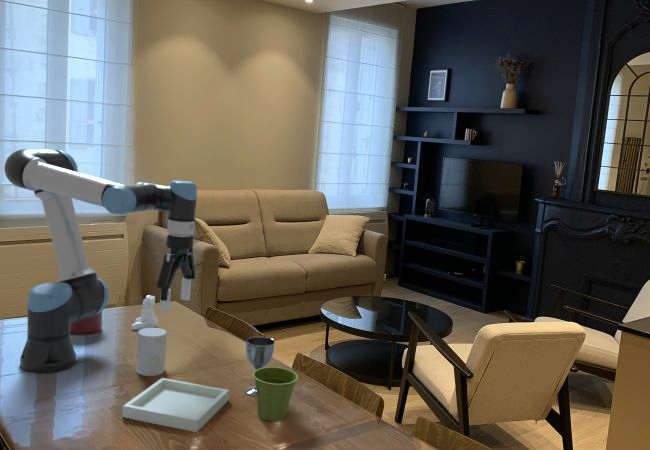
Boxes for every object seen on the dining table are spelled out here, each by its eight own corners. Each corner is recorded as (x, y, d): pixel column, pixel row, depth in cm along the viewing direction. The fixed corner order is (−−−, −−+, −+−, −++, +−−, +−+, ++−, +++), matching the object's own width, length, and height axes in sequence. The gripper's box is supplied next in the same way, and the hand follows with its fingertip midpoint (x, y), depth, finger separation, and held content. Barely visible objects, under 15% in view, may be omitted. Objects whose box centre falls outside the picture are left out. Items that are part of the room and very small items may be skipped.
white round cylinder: (156, 377, 182) (158, 337, 180) (131, 373, 184) (133, 333, 182) (169, 368, 190) (171, 329, 188) (144, 364, 192) (146, 326, 190)
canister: (93, 337, 211) (95, 286, 209) (55, 333, 211) (57, 283, 209) (107, 325, 224) (109, 277, 222) (71, 322, 224) (73, 274, 222)
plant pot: (277, 431, 156) (280, 387, 154) (240, 416, 162) (243, 375, 160) (303, 415, 166) (307, 374, 164) (268, 402, 172) (271, 363, 170)
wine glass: (275, 389, 181) (279, 339, 179) (263, 399, 173) (267, 347, 171) (250, 383, 183) (253, 334, 181) (238, 393, 176) (241, 342, 174)
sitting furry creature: (136, 322, 231) (137, 290, 229) (159, 323, 232) (161, 292, 230) (130, 330, 221) (132, 297, 220) (155, 331, 222) (157, 298, 221)
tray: (122, 417, 156) (123, 405, 155) (161, 387, 175) (162, 377, 175) (196, 432, 151) (197, 420, 151) (228, 400, 171) (229, 390, 170)
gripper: (172, 242, 169) (167, 318, 172) (209, 230, 193) (204, 297, 196) (147, 238, 170) (142, 313, 173) (187, 227, 194) (182, 293, 197)
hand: (175, 305), depth 184 cm, fingers open, 13 cm apart
